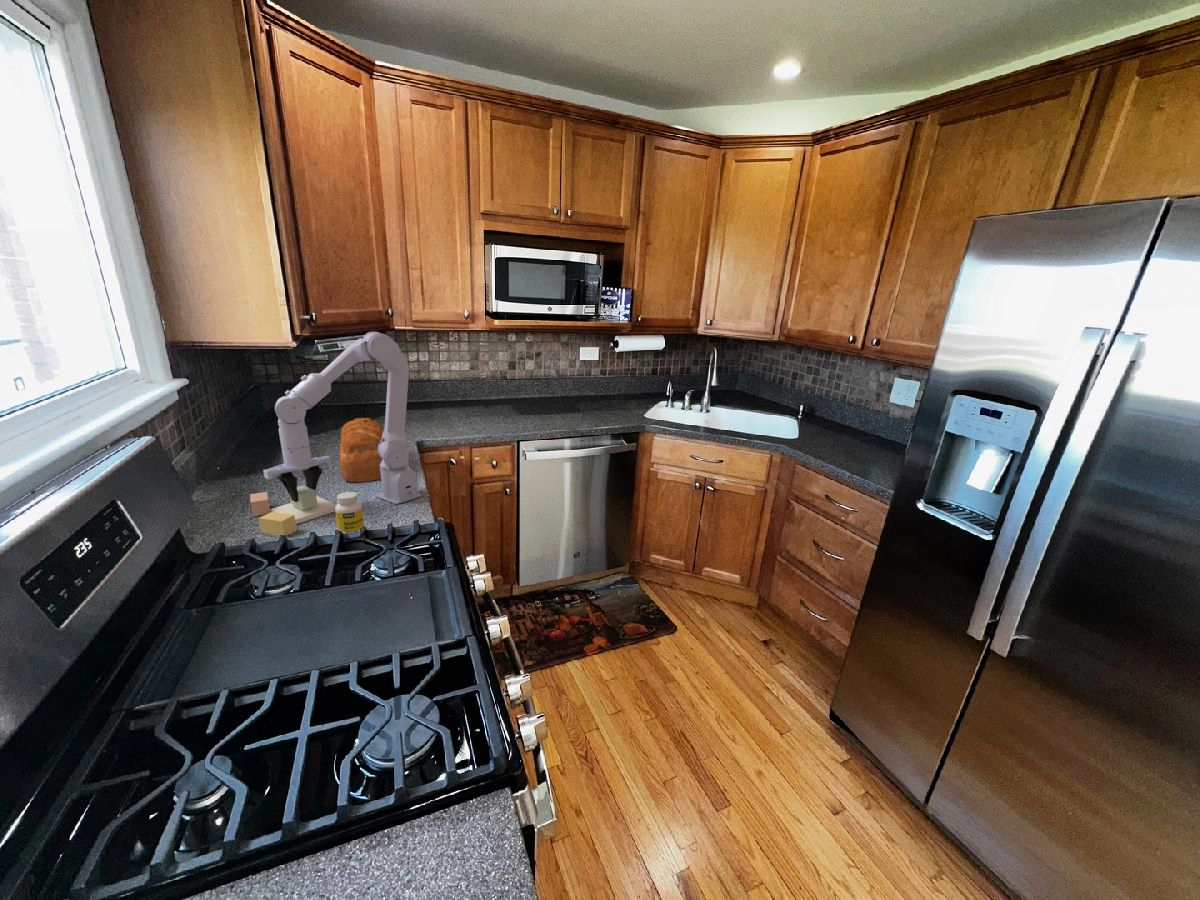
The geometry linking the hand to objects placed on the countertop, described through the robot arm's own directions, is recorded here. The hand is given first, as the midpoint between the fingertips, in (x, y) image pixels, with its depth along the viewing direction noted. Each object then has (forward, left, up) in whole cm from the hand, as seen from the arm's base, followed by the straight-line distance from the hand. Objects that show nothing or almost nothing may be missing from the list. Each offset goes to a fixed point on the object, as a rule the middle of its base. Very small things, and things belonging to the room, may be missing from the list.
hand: (303, 498), depth 118 cm
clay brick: (+9, +6, -4) cm, 11 cm away
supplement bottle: (-20, 0, -4) cm, 21 cm away
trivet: (0, 0, -4) cm, 4 cm away
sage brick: (0, 0, -2) cm, 2 cm away
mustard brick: (-6, +9, -4) cm, 12 cm away
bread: (+19, -28, -4) cm, 34 cm away
